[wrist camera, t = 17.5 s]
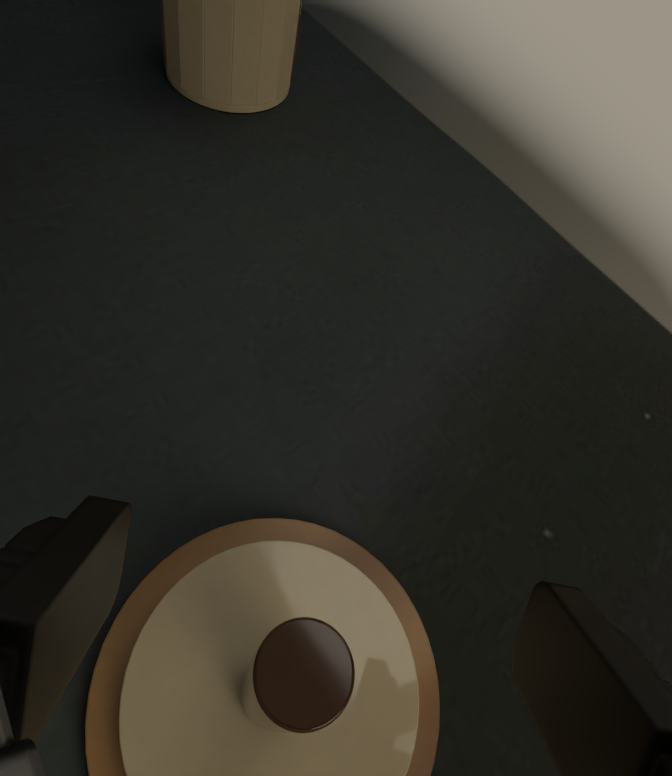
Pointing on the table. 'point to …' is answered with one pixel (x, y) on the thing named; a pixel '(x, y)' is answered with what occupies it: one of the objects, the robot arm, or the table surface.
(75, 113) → the table surface
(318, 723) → the crock lid
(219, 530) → the cork mat
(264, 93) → the crock
